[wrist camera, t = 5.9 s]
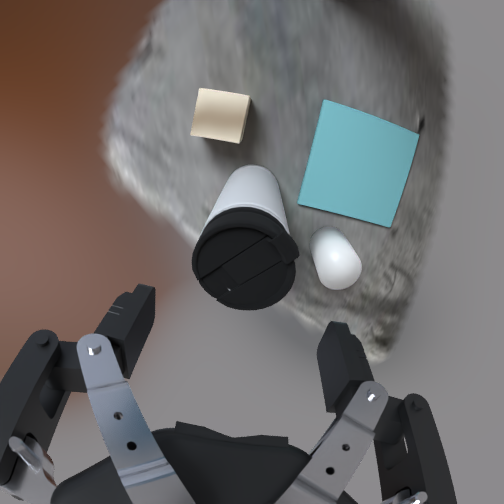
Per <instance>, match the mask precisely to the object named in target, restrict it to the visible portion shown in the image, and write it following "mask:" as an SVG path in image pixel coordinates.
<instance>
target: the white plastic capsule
mask: <svg viewBox="0 0 504 504" xmlns="http://www.w3.org/2000/svg"><path fill="white" fill-rule="evenodd" d="M309 247H310V251H311V254H312V257H313V260H314V263H315V266H316V269H317V273H318V276H319V279H320V281H321V283H322V284H323V285H324V286H326V287H327V288H330V289H333V290H341V289H345V288H347V287H349V286H351V285H352V284H354V283H355V282H356V281H357V279H358V278H359V276H360V274H361V270H362V265H361V261H360V259H359V257H358V256H357V254H356V252H355V251H354V249H353V248H352V246H351V244H350V243H349V241H348V240H347V238H346V236H345V235H344V233H343V232H342V231H341V230H340V229H338V228H336V227H332V226H326V227H323V228H320V229H319V230H317V231H316V232H315V233H314V234H313V235H312V237H311V239H310V244H309Z"/></svg>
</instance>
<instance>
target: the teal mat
mask: <svg viewBox="0 0 504 504" xmlns="http://www.w3.org/2000/svg"><path fill="white" fill-rule="evenodd" d="M418 138H419V135H418V134H416V133H414V132H412V131H409V130H407V129H405V128H402V127H400V126H398V125H395V124H393V123H391V122H388V121H386V120H383V119H380V118H378V117H375V116H373V115H370V114H367V113H364V112H362V111H359V110H356V109H353V108H350V107H347V106H344V105H341V104H338V103H335V102H331V101H328V100H325V99H324V100H323V103H322V107H321V111H320V115H319V119H318V123H317V127H316V131H315V135H314V139H313V143H312V147H311V151H310V155H309V159H308V163H307V167H306V171H305V174H304V178H303V182H302V186H301V189H300V193H299V197H298V201H297V203H298V204H301V205H305V206H309V207H314V208H318V209H322V210H326V211H330V212H334V213H338V214H342V215H345V216H349V217H353V218H357V219H361V220H364V221H368V222H372V223H375V224H379V225H382V226H386V227H389V228H390V226H391V224H392V221H393V218H394V215H395V213H396V210H397V207H398V204H399V201H400V198H401V195H402V192H403V189H404V186H405V183H406V180H407V177H408V173H409V170H410V167H411V163H412V160H413V156H414V153H415V149H416V146H417V142H418Z"/></svg>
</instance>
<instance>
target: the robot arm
mask: <svg viewBox="0 0 504 504" xmlns="http://www.w3.org/2000/svg"><path fill="white" fill-rule="evenodd" d="M154 318H155V287H152V286H147V285H143V284H138V285H137V287H136V288H135V290H134V291H133V293H129V292H125V293H123V294H122V295H120V296H119V297H118V298H117V299H116V300H115V302H114V303H113V305H112V306H111V308H110V309H109V311H108V312H107V314H106V315H105V317H104V318H103V320H102V321H101V323H100V324H99V326H98V327H97V329H96V330H95V332H94V333H93V334H88V335H85V336H83V337H82V338H81V339H80V340H79V341H78V342H66V341H59V340H58V337H57V335H56V334H55V333H54V332H52V331H50V330H39V331H36V332H34V333H33V334H32V335H31V336H30V337H29V338H28V340H27V341H26V343H25V344H24V346H23V347H22V349H21V350H20V352H19V353H18V355H17V357H16V358H15V360H14V361H13V363H12V364H11V366H10V368H9V369H8V371H7V372H6V374H5V376H4V377H3V379H2V381H1V383H0V490H2V491H3V492H5V493H7V494H9V495H11V496H13V497H14V498H16V499H18V500H25V501H27V502H29V503H31V504H358V503H357V502H356V501H355V500H354V499H353V498H352V497H351V496H350V495H349V494H347V493H346V492H345V491H344V489H345V487H346V485H347V484H348V482H349V481H350V479H351V478H352V476H353V474H354V473H355V471H356V469H357V468H358V466H359V464H360V462H361V461H362V459H363V457H364V455H365V453H366V451H367V450H368V448H369V446H370V444H371V442H372V440H374V446H375V452H376V458H377V464H378V471H379V478H380V485H381V493H382V501H383V502H382V503H381V504H457V501H456V496H455V492H454V487H453V483H452V479H451V475H450V471H449V467H448V464H447V460H446V456H445V453H444V449H443V446H442V443H441V440H440V436H439V433H438V430H437V427H436V424H435V421H434V418H433V415H432V412H431V409H430V407H429V404H428V402H427V401H426V400H425V399H424V398H423V397H422V396H420V395H418V394H414V393H413V394H409V395H407V397H405V399H404V400H401V399H398V398H394V397H390V396H388V393H387V391H386V390H385V388H384V387H383V386H382V385H381V384H379V383H377V382H375V381H374V378H373V375H372V372H371V369H370V366H369V363H368V361H367V359H366V355H365V352H364V349H363V346H362V344H361V342H360V341H359V339H358V338H357V337H356V336H355V335H352V334H351V333H350V330H349V327H348V325H347V323H342V322H335V321H331V322H330V323H329V324H328V326H327V328H326V330H325V333H324V335H323V337H322V339H321V341H320V343H319V345H318V349H317V360H318V365H319V370H320V376H321V382H322V387H323V393H324V399H325V405H326V411H327V412H330V413H336V418H335V419H334V421H333V422H332V424H331V425H330V426H329V428H328V429H327V430H326V432H325V433H324V435H323V436H322V437H321V439H320V440H319V441H318V443H317V444H316V445H315V446H314V448H313V449H312V450H311V451H310V452H309V454H307V453H306V452H304V451H303V450H301V449H299V448H297V447H294V446H292V445H289V444H288V437H280V436H267V435H257V436H248V437H237V438H232V437H229V436H226V435H224V434H221V433H218V432H216V431H213V430H210V429H208V428H206V427H202V426H197V425H192V424H187V423H183V422H178V421H177V422H176V426H175V428H165V429H159V430H155V431H152V432H151V431H150V429H149V428H148V425H147V423H146V421H145V419H144V417H143V415H142V413H141V411H140V409H139V407H138V405H137V402H136V400H135V398H134V396H133V394H132V391H131V389H130V387H129V384H128V382H127V381H125V380H124V378H127V379H130V377H131V374H132V372H133V369H134V367H135V365H136V363H137V360H138V358H139V356H140V353H141V351H142V348H143V346H144V344H145V342H146V340H147V337H148V335H149V333H150V331H151V328H152V326H153V323H154ZM71 391H72V392H84V393H88V396H89V400H90V403H91V406H92V409H93V412H94V415H95V418H96V421H97V423H98V426H99V429H100V432H101V434H102V437H103V440H104V442H105V444H106V447H107V450H108V452H109V454H110V456H109V457H107V458H105V459H103V460H102V461H100V462H98V463H96V464H95V465H93V466H91V467H89V468H87V469H85V470H84V471H82V472H80V473H78V474H76V475H74V476H72V477H70V478H68V479H66V480H64V481H63V482H61V483H60V484H59V485H58V486H57V485H56V484H55V481H54V477H53V474H54V464H53V461H52V459H51V457H50V456H49V455H48V454H47V451H48V447H49V445H50V442H51V440H52V437H53V434H54V432H55V429H56V426H57V424H58V422H59V419H60V417H61V414H62V412H63V410H64V407H65V405H66V402H67V400H68V398H69V396H70V393H71ZM404 437H405V439H406V443H407V448H408V453H407V451H406V447H405V442H404Z"/></svg>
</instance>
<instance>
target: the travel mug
mask: <svg viewBox="0 0 504 504" xmlns="http://www.w3.org/2000/svg"><path fill="white" fill-rule="evenodd" d="M298 257H299V251H298V247H297V245H296V243H295V242H294V240H293V239H292V237H291V236H290V233H289V229H288V224H287V220H286V215H285V211H284V207H283V202H282V198H281V194H280V190H279V186H278V182H277V179H276V178H275V176H274V175H273V173H272V172H271V171H270V170H268V169H267V168H265V167H263V166H260V165H256V164H249V165H244V166H241V167H240V168H238V169H236V170H235V171H234V172H233V173H232V174H231V176H230V177H229V179H228V181H227V183H226V185H225V186H224V188H223V190H222V192H221V194H220V196H219V198H218V200H217V202H216V204H215V206H214V208H213V210H212V212H211V214H210V216H209V218H208V220H207V222H206V224H205V226H204V228H203V230H202V232H201V235H200V238H199V240H198V242H197V244H196V246H195V249H194V251H193V256H192V270H193V272H194V274H195V276H196V278H197V280H199V283H200V285H201V286H202V287H203V288H204V290H205V291H206V292H207V293H209V294H210V295H211V296H212V297H214V298H217V301H218V302H220V303H222V304H224V305H225V306H227V307H230V308H234V309H238V310H257V309H263V308H266V307H269V306H272V305H273V304H275V303H277V302H278V301H280V300H281V299H282V298H283V297H284V296H286V294H287V293H288V292H289V290H290V289H291V287H292V285H293V282H294V279H295V273H296V270H295V262H294V260H295V259H296V258H298Z"/></svg>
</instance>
